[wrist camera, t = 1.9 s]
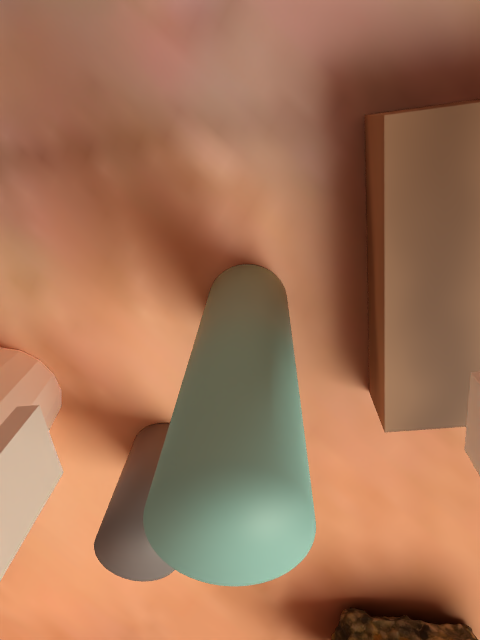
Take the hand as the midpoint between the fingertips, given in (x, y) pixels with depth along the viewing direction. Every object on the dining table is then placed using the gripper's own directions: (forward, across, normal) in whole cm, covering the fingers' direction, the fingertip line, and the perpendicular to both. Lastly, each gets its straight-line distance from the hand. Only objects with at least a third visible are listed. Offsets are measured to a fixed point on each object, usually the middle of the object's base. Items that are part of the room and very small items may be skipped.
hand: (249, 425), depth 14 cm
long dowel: (+10, 0, 0) cm, 10 cm away
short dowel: (+10, -6, -9) cm, 15 cm away
